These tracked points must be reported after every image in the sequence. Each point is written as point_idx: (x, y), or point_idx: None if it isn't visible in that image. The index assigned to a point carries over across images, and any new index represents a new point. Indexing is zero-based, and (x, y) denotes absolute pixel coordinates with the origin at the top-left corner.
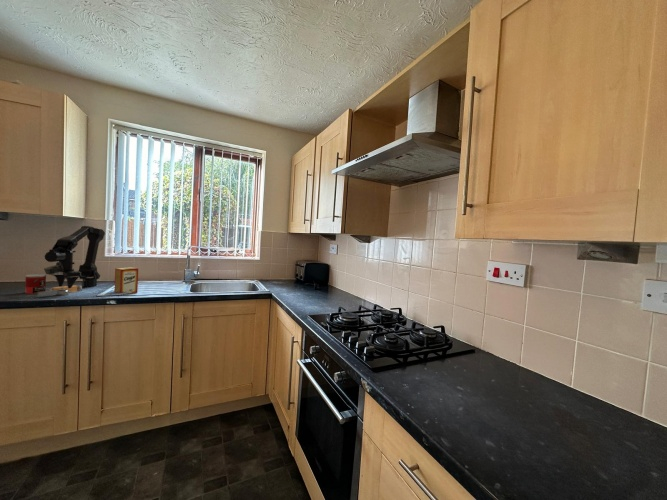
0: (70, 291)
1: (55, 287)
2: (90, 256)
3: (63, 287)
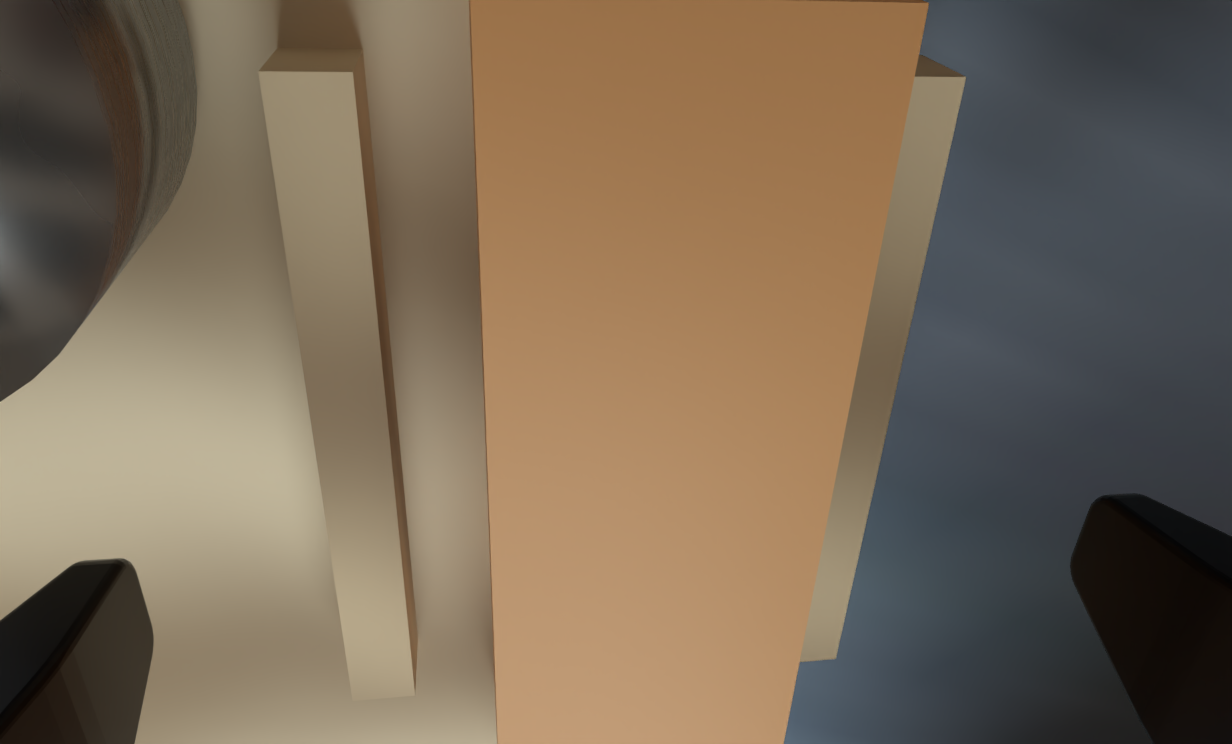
0: (340, 527)
1: (823, 194)
2: None
3: (495, 479)
